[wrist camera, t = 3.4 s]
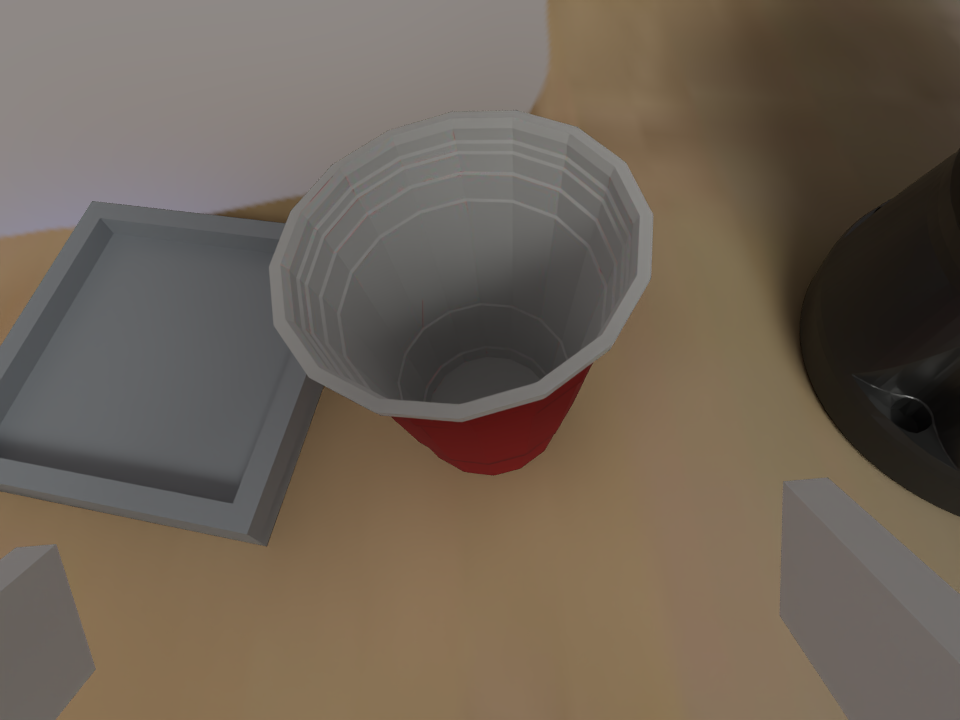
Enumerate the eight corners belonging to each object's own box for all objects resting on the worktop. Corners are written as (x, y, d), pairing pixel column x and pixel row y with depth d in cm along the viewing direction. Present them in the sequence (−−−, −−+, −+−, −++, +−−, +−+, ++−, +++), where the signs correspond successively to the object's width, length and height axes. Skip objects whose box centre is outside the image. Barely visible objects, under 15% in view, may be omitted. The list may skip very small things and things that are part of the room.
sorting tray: (369, 257, 33) (359, 231, 31) (266, 546, 26) (247, 534, 24) (114, 226, 35) (92, 200, 33) (-39, 482, 28) (-77, 467, 27)
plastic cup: (419, 283, 32) (359, 70, 21) (638, 340, 29) (694, 131, 19) (319, 488, 27) (180, 345, 17) (570, 576, 25) (593, 474, 14)
